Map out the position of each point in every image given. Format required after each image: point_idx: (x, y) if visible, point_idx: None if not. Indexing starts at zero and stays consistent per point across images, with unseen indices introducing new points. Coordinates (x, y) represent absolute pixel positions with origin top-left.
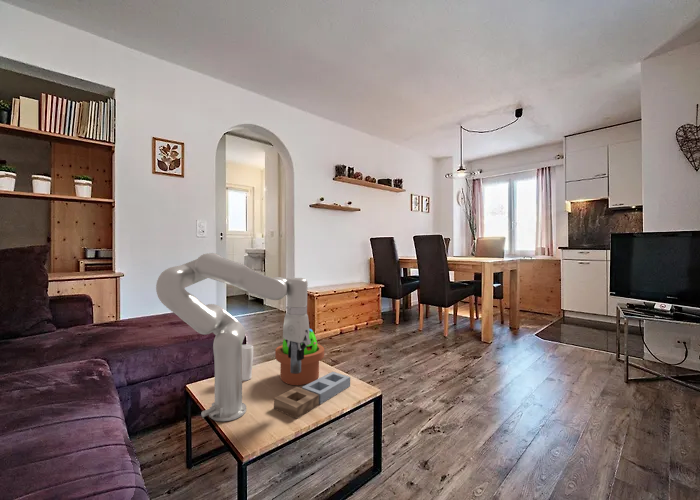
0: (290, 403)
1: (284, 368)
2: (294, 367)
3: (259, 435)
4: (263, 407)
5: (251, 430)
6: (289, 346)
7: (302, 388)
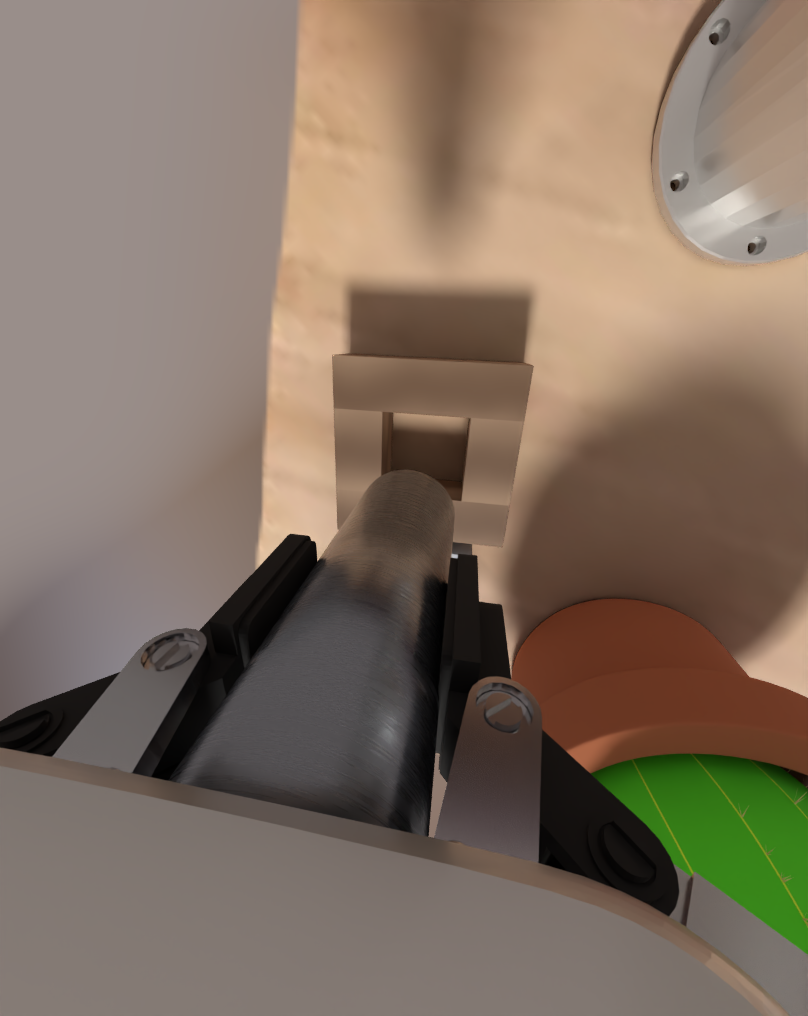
0: (395, 373)
1: (696, 661)
2: (371, 495)
3: (392, 77)
4: (588, 335)
5: (472, 79)
6: (471, 695)
7: (467, 552)
